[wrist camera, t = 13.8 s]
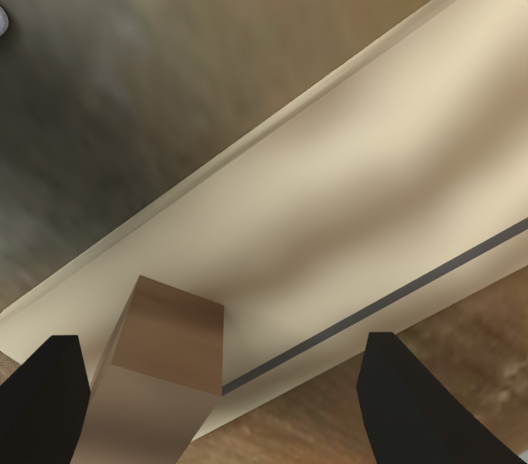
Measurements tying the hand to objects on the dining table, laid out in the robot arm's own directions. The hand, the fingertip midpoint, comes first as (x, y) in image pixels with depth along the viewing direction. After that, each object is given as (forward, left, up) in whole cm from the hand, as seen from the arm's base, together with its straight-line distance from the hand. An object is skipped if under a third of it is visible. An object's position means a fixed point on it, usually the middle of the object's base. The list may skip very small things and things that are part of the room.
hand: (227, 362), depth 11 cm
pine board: (+4, +2, -9) cm, 10 cm away
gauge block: (+3, -6, -7) cm, 10 cm away
